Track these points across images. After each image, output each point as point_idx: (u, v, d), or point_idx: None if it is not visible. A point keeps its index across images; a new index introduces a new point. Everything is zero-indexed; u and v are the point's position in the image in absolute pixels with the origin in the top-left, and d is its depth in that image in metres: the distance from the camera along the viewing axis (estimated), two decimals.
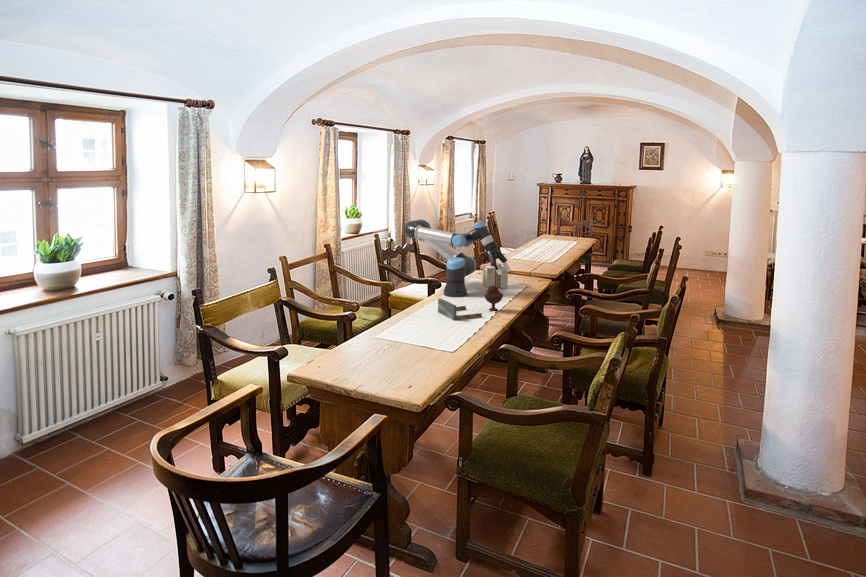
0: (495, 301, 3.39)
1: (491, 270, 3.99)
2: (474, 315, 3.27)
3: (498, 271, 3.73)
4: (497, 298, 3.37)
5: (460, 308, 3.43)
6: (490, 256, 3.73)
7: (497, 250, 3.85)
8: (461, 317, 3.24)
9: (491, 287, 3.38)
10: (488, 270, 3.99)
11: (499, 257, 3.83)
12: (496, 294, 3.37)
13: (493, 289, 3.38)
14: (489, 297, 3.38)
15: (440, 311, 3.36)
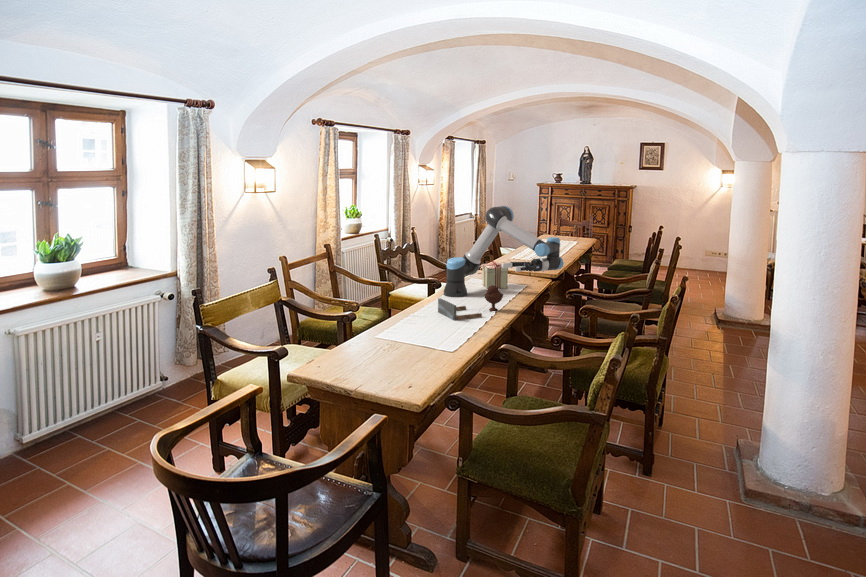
0: (495, 301, 3.39)
1: (491, 270, 3.99)
2: (474, 315, 3.27)
3: (519, 268, 3.38)
4: (497, 298, 3.37)
5: (460, 308, 3.43)
6: (535, 268, 3.42)
7: (525, 264, 3.55)
8: (461, 317, 3.24)
9: (491, 287, 3.38)
10: (488, 270, 3.99)
11: (520, 265, 3.51)
12: (496, 294, 3.37)
13: (493, 289, 3.38)
14: (489, 297, 3.38)
15: (440, 311, 3.36)
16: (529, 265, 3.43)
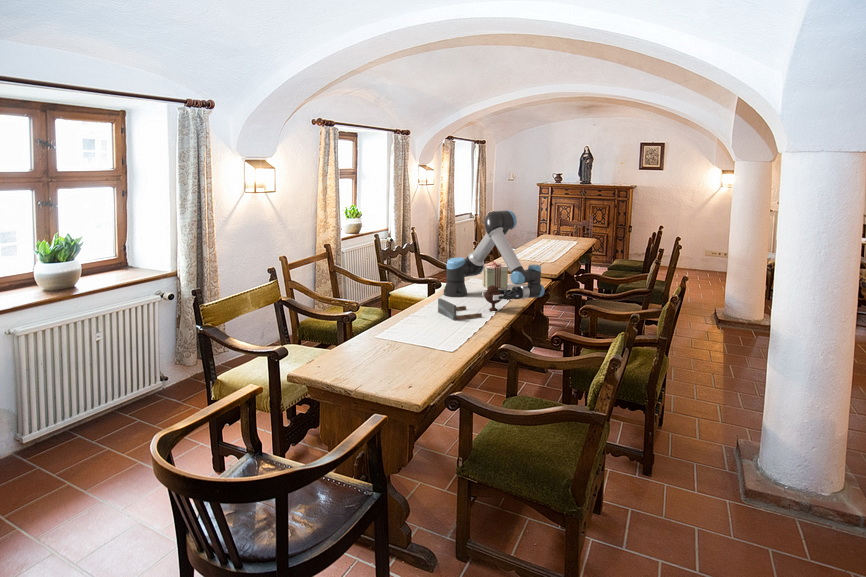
0: (495, 301, 3.39)
1: (491, 270, 3.99)
2: (474, 315, 3.27)
3: (496, 297, 3.36)
4: None
5: (460, 308, 3.43)
6: (514, 296, 3.39)
7: (506, 292, 3.52)
8: (461, 317, 3.24)
9: (491, 287, 3.38)
10: (488, 270, 3.99)
11: (500, 292, 3.48)
12: (496, 294, 3.37)
13: (493, 289, 3.38)
14: (489, 297, 3.38)
15: (440, 311, 3.36)
16: (508, 293, 3.41)
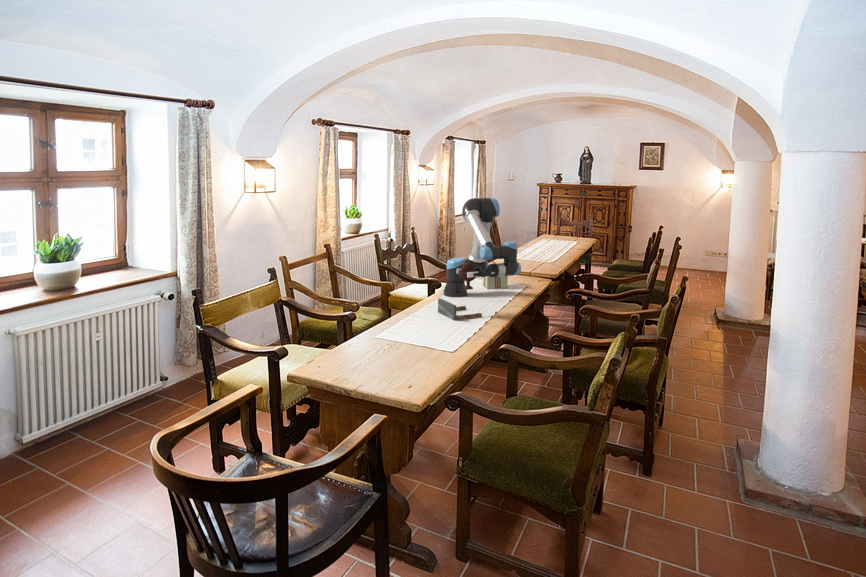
0: (470, 278, 3.27)
1: None
2: (474, 315, 3.27)
3: (471, 274, 3.24)
4: None
5: (460, 308, 3.43)
6: (489, 274, 3.28)
7: None
8: (461, 317, 3.24)
9: (465, 264, 3.26)
10: None
11: (476, 270, 3.36)
12: (471, 271, 3.26)
13: (467, 266, 3.26)
14: (463, 274, 3.26)
15: (440, 311, 3.36)
16: (483, 271, 3.29)
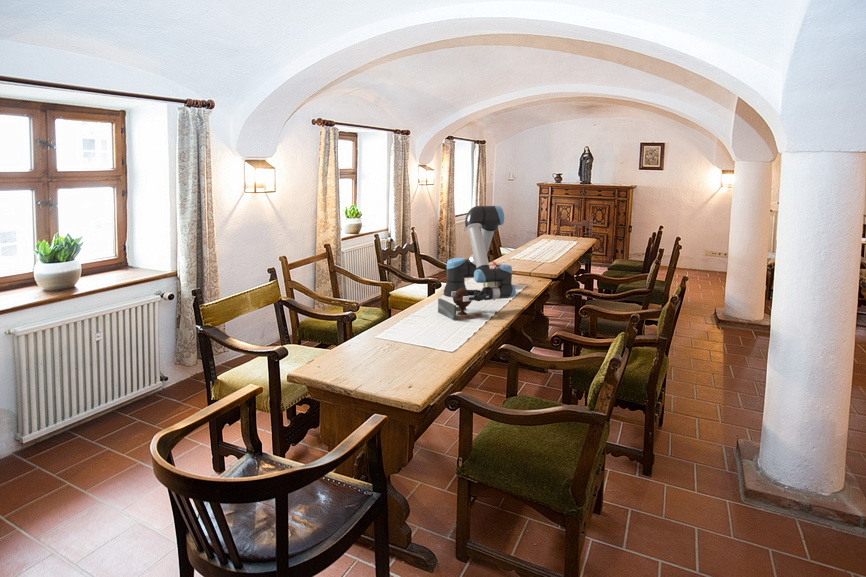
0: (464, 305, 3.30)
1: None
2: (474, 315, 3.27)
3: (467, 298, 3.26)
4: (465, 302, 3.28)
5: (460, 308, 3.43)
6: (484, 297, 3.30)
7: None
8: (461, 317, 3.24)
9: (459, 290, 3.29)
10: None
11: (470, 293, 3.39)
12: None
13: (461, 292, 3.29)
14: (457, 301, 3.29)
15: (440, 311, 3.36)
16: (478, 294, 3.31)
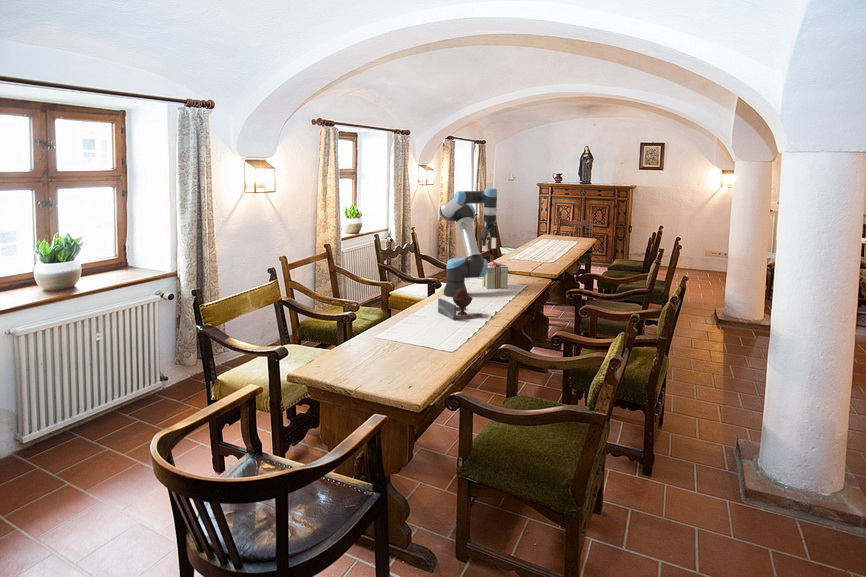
0: (464, 305, 3.30)
1: (491, 270, 3.99)
2: (474, 315, 3.27)
3: (483, 247, 3.55)
4: (466, 301, 3.28)
5: (460, 308, 3.43)
6: (484, 229, 3.52)
7: (494, 223, 3.63)
8: (461, 317, 3.24)
9: (459, 290, 3.29)
10: (488, 270, 3.99)
11: (492, 231, 3.63)
12: (464, 297, 3.28)
13: (461, 292, 3.29)
14: (457, 300, 3.29)
15: (440, 311, 3.36)
16: None
